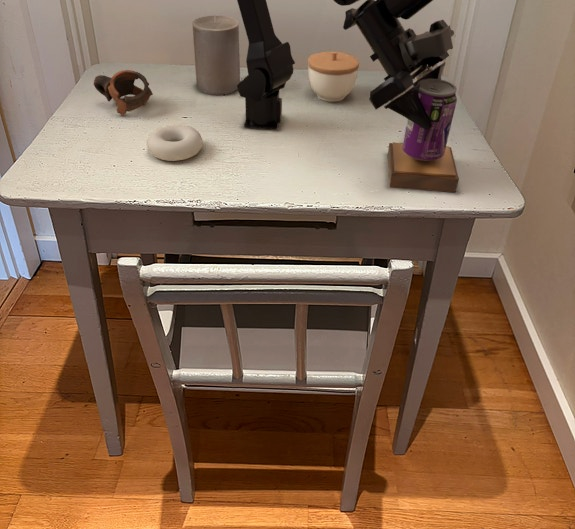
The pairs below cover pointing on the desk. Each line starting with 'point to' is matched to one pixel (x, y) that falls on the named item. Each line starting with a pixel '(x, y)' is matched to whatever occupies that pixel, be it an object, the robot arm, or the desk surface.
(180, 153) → the donut
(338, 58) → the trinket box
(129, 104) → the pottery mug
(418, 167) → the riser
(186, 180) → the desk surface
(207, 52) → the pillar candle
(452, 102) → the beverage can
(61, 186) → the desk surface
